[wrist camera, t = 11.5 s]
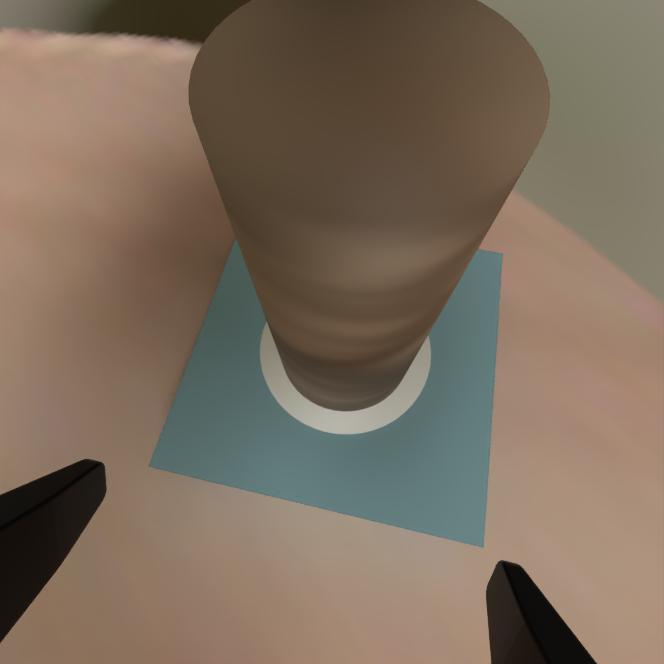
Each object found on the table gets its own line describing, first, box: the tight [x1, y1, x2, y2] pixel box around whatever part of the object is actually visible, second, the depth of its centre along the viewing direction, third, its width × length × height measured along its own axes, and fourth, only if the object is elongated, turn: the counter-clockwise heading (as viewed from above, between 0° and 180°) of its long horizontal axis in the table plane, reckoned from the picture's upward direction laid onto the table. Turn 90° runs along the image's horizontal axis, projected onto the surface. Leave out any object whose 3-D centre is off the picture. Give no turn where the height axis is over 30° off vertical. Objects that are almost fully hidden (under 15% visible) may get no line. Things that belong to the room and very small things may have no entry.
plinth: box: [149, 238, 503, 548], centre depth 20 cm, size 14×14×3 cm
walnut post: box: [189, 0, 550, 412], centre depth 13 cm, size 6×6×13 cm
